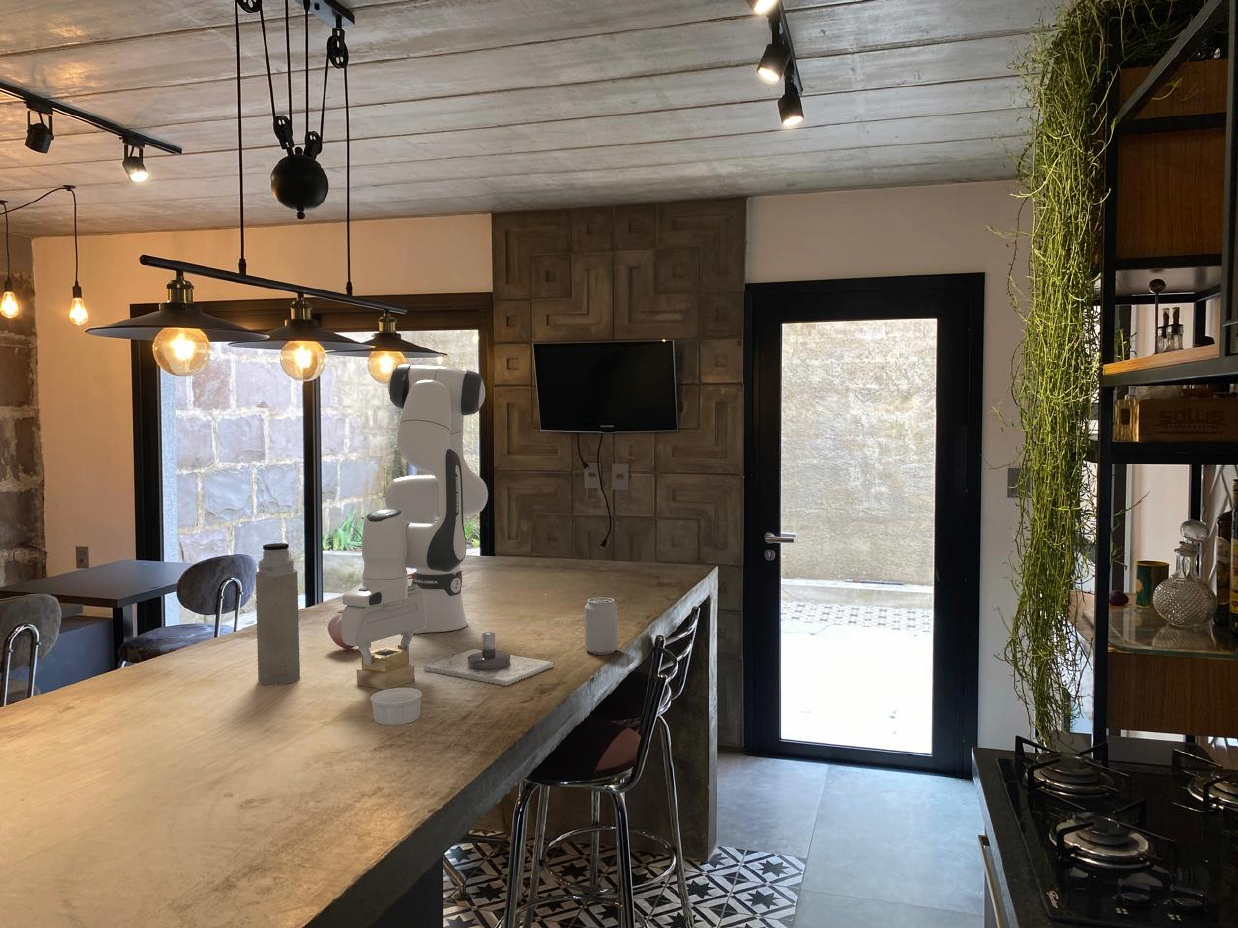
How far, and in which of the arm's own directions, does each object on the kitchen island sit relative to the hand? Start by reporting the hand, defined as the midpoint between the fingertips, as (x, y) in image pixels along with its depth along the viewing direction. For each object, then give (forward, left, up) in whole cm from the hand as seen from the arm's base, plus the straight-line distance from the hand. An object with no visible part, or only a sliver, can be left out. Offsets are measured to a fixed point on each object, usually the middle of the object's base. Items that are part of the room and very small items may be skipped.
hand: (386, 658), depth 182 cm
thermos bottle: (-20, -10, -5) cm, 23 cm away
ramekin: (+18, -15, -5) cm, 24 cm away
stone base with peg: (+12, +18, -5) cm, 22 cm away
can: (+25, +42, -5) cm, 49 cm away
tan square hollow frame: (0, 0, -2) cm, 2 cm away
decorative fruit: (-26, +14, -5) cm, 30 cm away
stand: (0, 0, -5) cm, 5 cm away
